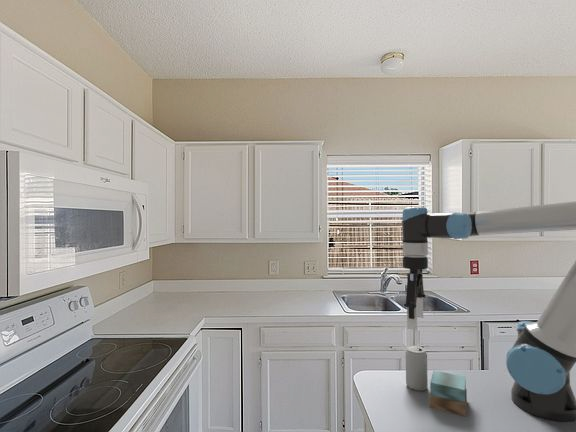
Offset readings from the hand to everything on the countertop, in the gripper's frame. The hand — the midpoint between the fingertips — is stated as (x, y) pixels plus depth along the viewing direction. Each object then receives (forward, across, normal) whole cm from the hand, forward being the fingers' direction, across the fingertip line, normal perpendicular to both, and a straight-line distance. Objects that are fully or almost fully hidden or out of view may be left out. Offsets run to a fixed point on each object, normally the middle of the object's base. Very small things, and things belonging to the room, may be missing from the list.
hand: (415, 322), depth 105 cm
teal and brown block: (+20, +6, +10) cm, 23 cm away
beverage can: (+20, 0, 0) cm, 20 cm away
